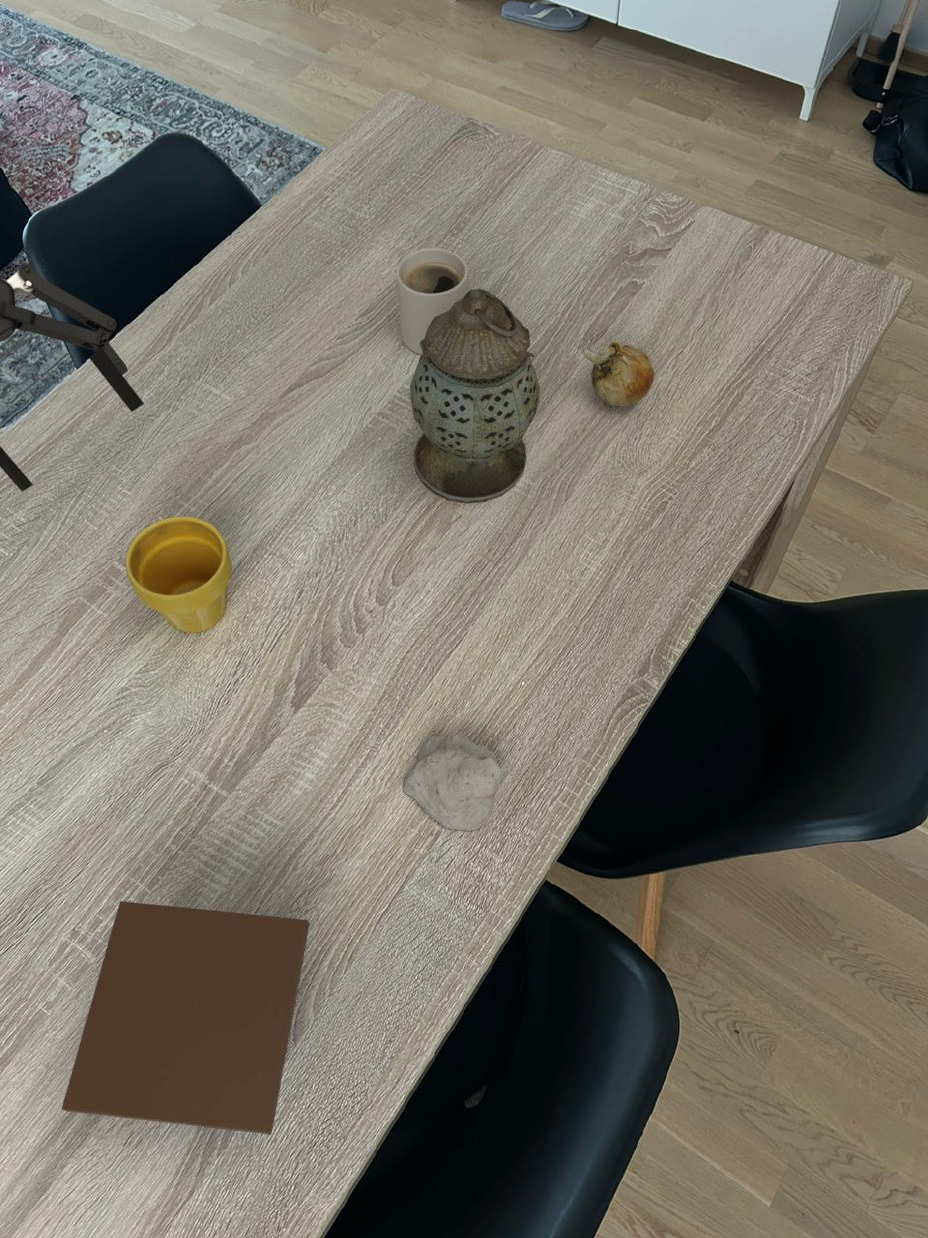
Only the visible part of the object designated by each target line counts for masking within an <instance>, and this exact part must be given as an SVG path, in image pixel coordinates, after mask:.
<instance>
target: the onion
mask: <svg viewBox="0 0 928 1238" xmlns="http://www.w3.org/2000/svg"><path fill="white" fill-rule="evenodd" d="M603 346H604V349H603V351H602V353H600V352H597V351H594V350H592V349H590V348H589V347H587V348H585V349H584V350H583V353H582V354H583V357H584V358H585V359H587V361H589V362H590V363H592V364H593V367H592V369H591V373H590V375H591V384H592V388H593V390H594V392H595V394H596V396H597V397H599V399H600V400H602V401H603V402H604V403H606V404H608V405H610V406H612V407H613V406H614V407H627V406H631V405H635V404H636V403H638V402H640V401H641V400H642V399H643V398H644V397H645V398H646V395H647V394H648V393H649V391H650V390H651V387H652V386H653V383H654V380H655V379H654V378H655V371H654V368H653V366H652V363H651V361H650V359H649V357H648V355H646V353H644V352H643V350H641V349H638V348H636V347H634V346H633V345H629V344H624V345H622V344H621V343H620V342H617V341H611V342H610V343H609V345H607V344H604V345H603Z"/></svg>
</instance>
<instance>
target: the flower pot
mask: <svg viewBox="0 0 928 1238" xmlns="http://www.w3.org/2000/svg"><path fill="white" fill-rule="evenodd" d="M124 566H125V567H124V568H125V572H126V575H127V578H128V580H129V583H130V585H131V587H132V590H133V591H134V592H135V594H136V596H137V597H138V598H139V600H140V602H142V603H143V604H144V605H145V606H147V607H148V608H150V609H152V610H154V611H156V612H158V614H160V615H161V616H162V617H163V618H164V620H165V621H167V623H168V624H169V625H170V626H171V627H172V628H174V629H175V630H177V631H179V632H183V633H187V634H195V633H196V634H198V633H201V632H205V631H207V630H210V629H211V628H213V627H214V626H216V625H217V624H218V623H219V622H221V620H222V618H223V616H224V615H225V613H226V610H227V590H228V589H227V587H228V585H229V583H230V580H231V577H232V571H233V570H232V569H233V567H232V559H231V555H230V552H229V547H228V545H227V542H226V540H225V537H224V536H223V534H222V532H220V531H219V529H218V528H217V527H216V526H215V525H213V524H212V523H211V522H208V521H207V520H204V519H201V518H198V517H195V516H185V515H183V516H180V515H179V516H171V517H166V518H163V519H159V520H158V521H155V522H153V523H151V524H150V525H148V526H146V527H145V528H144V529H142V530H141V531H140V532H139V533H138V534H137V535H136V536H135V537H134V539H132V541H131V543H130V545H129V547H128V548H127V551H126V554H125V561H124Z"/></svg>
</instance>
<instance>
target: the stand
mask: <svg viewBox="0 0 928 1238" xmlns="http://www.w3.org/2000/svg"><path fill="white" fill-rule="evenodd" d="M114 917H115V918H114V921H113V925H112V929H111V932H110V935H109V939H108V942H107V945H106V950H105V952H104V957H103V960H102V963H101V967H100V972H99V974H98V978H97V980H96V981H97V982H96V985H95V989H94V993H93V996H92V1000H91V1003H90V1006H89V1010H88V1014H87V1017H86V1021H85V1025H84V1028H83V1032H82V1035H81V1039H80V1042H79V1046H78V1050H77V1053H76V1056H75V1060H74V1063H73V1066H72V1071H71V1074H70V1078H69V1082H68V1085H67V1088H66V1092H65V1096H64V1099H63V1103H62V1106H61V1110H62V1111H65V1112H70V1113H79V1114H87V1115H96V1116H97V1115H98V1116H105V1117H113V1118H121V1119H131V1120H141V1121H147V1122H157V1123H165V1124H175V1125H183V1126H191V1127H192V1126H193V1127H201V1128H208V1129H209V1128H210V1129H217V1130H218V1129H219V1130H227V1131H236V1132H244V1133H252V1134H261V1135H270V1136H271V1135H272V1134H273V1129H274V1124H275V1123H274V1122H275V1118H276V1112H277V1107H278V1101H279V1095H280V1089H281V1084H282V1079H283V1074H284V1073H283V1072H284V1068H285V1062H286V1056H287V1051H288V1046H289V1040H290V1034H291V1029H292V1025H293V1017H294V1012H295V1007H296V1001H297V995H298V991H299V990H298V989H299V986H300V978H301V974H302V970H303V969H302V968H303V963H304V957H305V951H306V947H307V940H308V935H309V930H310V922H309V920H308V919H301V918H293V917H292V918H291V917H289V918H288V917H281V916H271V915H263V914H251V913H242V912H232V911H231V912H230V911H221V910H211V909H202V908H192V907H183V906H182V907H180V906H173V905H163V904H152V903H142V902H133V901H124V900H123V901H121V900H120V901H119V903H118V907H117V910H116V914H115V916H114Z"/></svg>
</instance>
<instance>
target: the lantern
mask: <svg viewBox="0 0 928 1238" xmlns="http://www.w3.org/2000/svg"><path fill="white" fill-rule="evenodd" d="M530 338H531V333H530V330H529V328H526V326H524V324H523V323H522V322H521V321H520V320H519V319H518V318H517V317H515V315H514V313H513V311H512V310H511V309H510V307H508V306H507V304H506V303H505V302H504V301H502V300H501V299H500V298H499V297H498V296H496V295H495V294H493V293H491V292H490V291H488V290H486V289H483V288H475V289H471V290H468V292H467V293H466V295H465V296H464V297H463V298H462V299H460V300H458V301H457V302H455V304H454V305H453V306H452V307H451V308H450V309H449V311H447V312H445V313H443V314H440V315H438V316H436V317H434V319H433V320H432V322H431V324H430V325H429V327H428V329H427V332H426V335H425V338H424V339H423V340H421V341H420V346H421V349H422V351H423V354H422V355H421V354H420V356H419V360H418V362H417V364H416V368H415V370H414V373H413V376H412V378H411V381H410V384H409V393H410V394H409V395H410V403H411V404H410V405H411V409H412V415H413V420H414V421H415V422H416V424H417V425H418V427H419V428H420V430H421V431H422V433H423V434H422V435H421V437H420V438H419V439H418V440H417V442H416V446H415V449H414V452H413V461H414V471H415V473H416V475H417V477H418V478H419V480H420V482H421V484H422V485H423V486H425V487H426V489H428V490H429V491H430V492H431V493H432V494H434V495H436V496H438V497H441V498H443V499H445V500H448V501H451V502H456V503H462V504H475V503H485V502H488V501H491V500H494V499H497V498H499V497H502V496H503V495H505V494H506V493H508V492H509V491H510V490H511V489H513V488H514V487H516V485H517V484H518V482H519V480H520V479H521V478H522V477H523V474H524V471H525V467H526V462H527V454H526V453H527V452H526V443H524V441H523V438H524V436H525V434H526V433H527V431H528V429H529V427H530V426H531V425H532V424H531V423H532V422H533V420H534V419H535V416H536V413H537V410H538V408H539V405H540V396H541V395H540V394H541V393H540V392H541V391H540V390H541V389H540V383H539V379H538V376H537V373H536V369H535V368H534V365H533V363H532V360H531V358H535V354H534V353H533V352H529V351H528V350H529V348H530V346H531V341H530Z"/></svg>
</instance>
